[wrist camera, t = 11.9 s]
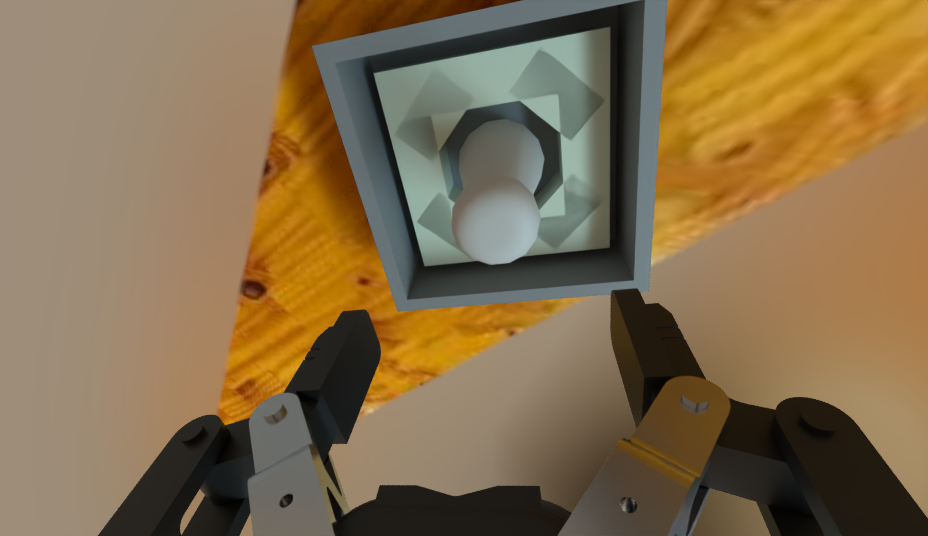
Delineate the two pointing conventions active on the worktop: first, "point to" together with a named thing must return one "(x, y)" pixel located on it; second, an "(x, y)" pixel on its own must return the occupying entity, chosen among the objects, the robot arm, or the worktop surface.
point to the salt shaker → (498, 192)
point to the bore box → (519, 100)
